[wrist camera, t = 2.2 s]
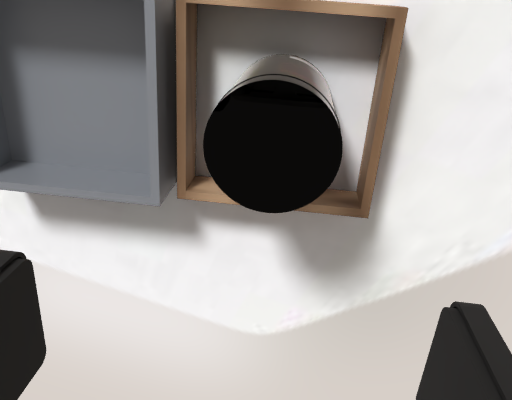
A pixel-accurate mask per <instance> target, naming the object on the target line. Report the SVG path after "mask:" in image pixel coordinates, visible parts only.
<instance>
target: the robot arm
mask: <svg viewBox="0 0 512 400" xmlns="http://www.w3.org/2000/svg"><path fill="white" fill-rule="evenodd" d="M45 355H46V345H45V339H44V332H43V326H42V320H41V315H40V308H39V302H38V295H37V289H36V283H35V277H34V270H33V265H32V262H31V261H30V260H28V259H26V256H25V255H24V254H23V253H21V252H14V251H6V250H0V400H17V399H18V398H19V396H20V395H21V394H22V392H23V391H24V389H25V388H26V386H27V385H28V384H29V382H30V381H31V379H32V378H33V377H34V375H35V374H36V372H37V371H38V369H39V368H40V367H41V365H42V364H43V361H44V359H45ZM416 400H512V354H511V352H510V350H509V349H508V347H507V345H506V343H505V342H504V340H503V338H502V337H501V335H500V333H499V331H498V330H497V328H496V326H495V324H494V323H493V321H492V319H491V317H490V316H489V314H488V312H487V310H486V309H485V307H484V306H483V305H481V304H472V303H464V302H453V303H452V304H451V306H450V308H448V307H444V308H443V309H442V312H441V314H440V318H439V321H438V325H437V328H436V331H435V335H434V338H433V341H432V345H431V348H430V352H429V355H428V359H427V362H426V365H425V368H424V372H423V375H422V379H421V382H420V385H419V389H418V392H417V396H416Z"/></svg>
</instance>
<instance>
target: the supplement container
mask: <svg viewBox="0 0 512 400" xmlns="http://www.w3.org/2000/svg"><path fill="white" fill-rule="evenodd" d="M203 149H204V157H205V162H206V165H207V168H208V170H209V173H210V175H211V176H212V178H213V180H214V181H215V183H216V184H217V186H218V187H219V188H220V189H221V190H222V191H223V192H224V193H225V194H226V195H227V196H228V197H229V198H231V199H232V200H233V201H235V202H236V203H238V204H240V205H242V206H244V207H246V208H249V209H252V210H255V211H259V212H266V213H283V212H289V211H293V210H296V209H299V208H302V207H304V206H306V205H308V204H310V203H311V202H313V201H314V200H316V199H317V198H318V197H320V196H321V195H322V194H323V193H324V192H325V191H326V190H327V189H328V187H329V186H330V185H331V183H332V182H333V180H334V178H335V177H336V174H337V172H338V170H339V167H340V163H341V158H342V136H341V131H340V125H339V121H338V118H337V115H336V113H335V110H334V106H333V102H332V97H331V93H330V89H329V86H328V84H327V82H326V80H325V78H324V76H323V75H322V74H321V72H320V71H319V70H318V69H317V68H316V67H315V66H314V65H313V64H311V63H310V62H308V61H307V60H305V59H303V58H300V57H298V56H294V55H289V54H276V55H271V56H267V57H264V58H262V59H260V60H258V61H256V62H255V63H253V64H252V65H251V66H250V67H248V69H247V70H246V71H245V72H244V73H243V74H242V76H241V77H240V78H239V79H238V81H237V82H236V83H235V85H234V86H233V87H232V88H231V89H230V90H229V91H228V92H227V93H226V94H225V95H224V97H223V98H222V99H221V100H220V102H219V103H218V105H217V106H216V108H215V109H214V111H213V112H212V114H211V116H210V118H209V120H208V123H207V126H206V129H205V133H204V141H203Z"/></svg>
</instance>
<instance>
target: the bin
mask: <svg viewBox="0 0 512 400" xmlns="http://www.w3.org/2000/svg"><path fill="white" fill-rule="evenodd" d="M176 182H177V102H176V0H0V190H10V191H19V192H29V193H38V194H48V195H57V196H67V197H76V198H86V199H95V200H105V201H114V202H124V203H133V204H143V205H152V206H160V205H161V204H162V202H163V201H164V199H165V198H166V196H167V195H168V194H169V192H170V191H171V189H172V188H173V186H174V185H175V183H176Z"/></svg>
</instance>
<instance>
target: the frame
mask: <svg viewBox="0 0 512 400" xmlns="http://www.w3.org/2000/svg"><path fill="white" fill-rule="evenodd" d="M197 3H198V4H212V5H225V6H238V7H251V8H264V9H277V10H290V11H303V12H316V13H329V14H343V15H356V16H369V17H382V18H386V24H385V29H384V35H383V41H382V47H381V52H380V58H379V64H378V70H377V75H376V81H375V87H374V92H373V98H372V104H371V110H370V115H369V121H368V127H367V133H366V138H365V144H364V150H363V155H362V161H361V167H360V173H359V178H358V184H357V190H356V192H355V191H345V190H335V189H327V190H326V191H325V192H324V193H323V194H322V195H321V196H320V197H318V198H317V199H316V200H314V201H313V202H311V203H310V204H308V205H306V206H304V207H302V208H299V209H296V210H294V211H304V212H314V213H323V214H333V215H343V216H352V217H362V218H368V216H369V211H370V205H371V200H372V195H373V190H374V185H375V179H376V174H377V169H378V164H379V158H380V153H381V148H382V143H383V138H384V132H385V127H386V122H387V117H388V112H389V106H390V101H391V96H392V91H393V85H394V80H395V75H396V70H397V65H398V59H399V54H400V49H401V44H402V38H403V33H404V28H405V23H406V18H407V12H408V8H406V7H400V6H388V5H374V4H361V3H348V2H334V1H321V0H176V87H177V198H179V199H189V200H198V201H208V202H218V203H227V204H237V205H240V204H238V203H236V202H235V201H233V200H232V199H231V198H229V197H228V196H227V195H226V194H225V193H224V192H223V191H222V190H221V189H220V188H219V187H218V186H217V184H216V183H215V181H214V180H213V178H212V177H205V176H195V158H196V70H197Z"/></svg>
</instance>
